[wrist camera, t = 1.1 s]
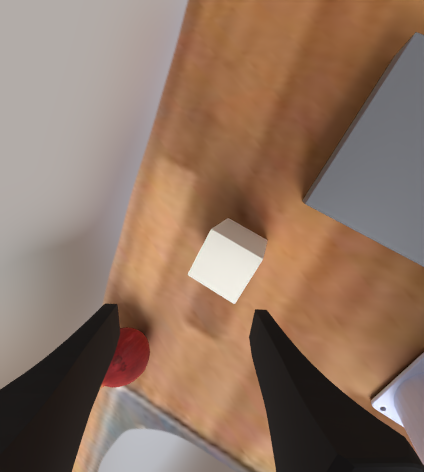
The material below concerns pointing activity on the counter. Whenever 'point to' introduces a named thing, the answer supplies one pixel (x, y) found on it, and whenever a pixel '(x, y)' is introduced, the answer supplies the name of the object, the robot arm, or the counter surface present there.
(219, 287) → the cream block
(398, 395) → the robot arm
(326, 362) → the counter surface
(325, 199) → the riser block
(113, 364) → the onion
